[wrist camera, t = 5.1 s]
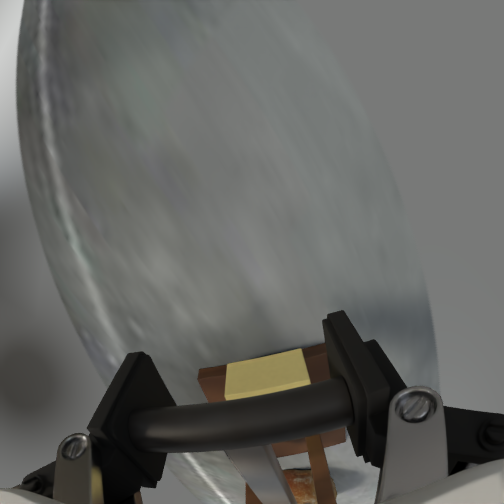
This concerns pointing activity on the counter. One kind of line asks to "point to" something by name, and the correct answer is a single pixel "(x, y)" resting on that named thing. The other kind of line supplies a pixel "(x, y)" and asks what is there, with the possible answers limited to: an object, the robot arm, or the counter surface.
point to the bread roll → (303, 485)
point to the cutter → (314, 445)
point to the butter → (266, 375)
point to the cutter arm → (247, 430)
